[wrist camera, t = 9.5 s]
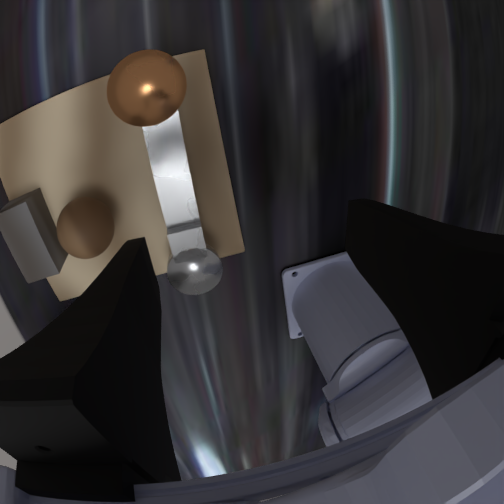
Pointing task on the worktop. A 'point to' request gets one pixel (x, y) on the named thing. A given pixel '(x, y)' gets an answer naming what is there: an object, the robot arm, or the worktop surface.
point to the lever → (166, 160)
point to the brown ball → (85, 228)
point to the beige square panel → (107, 179)
